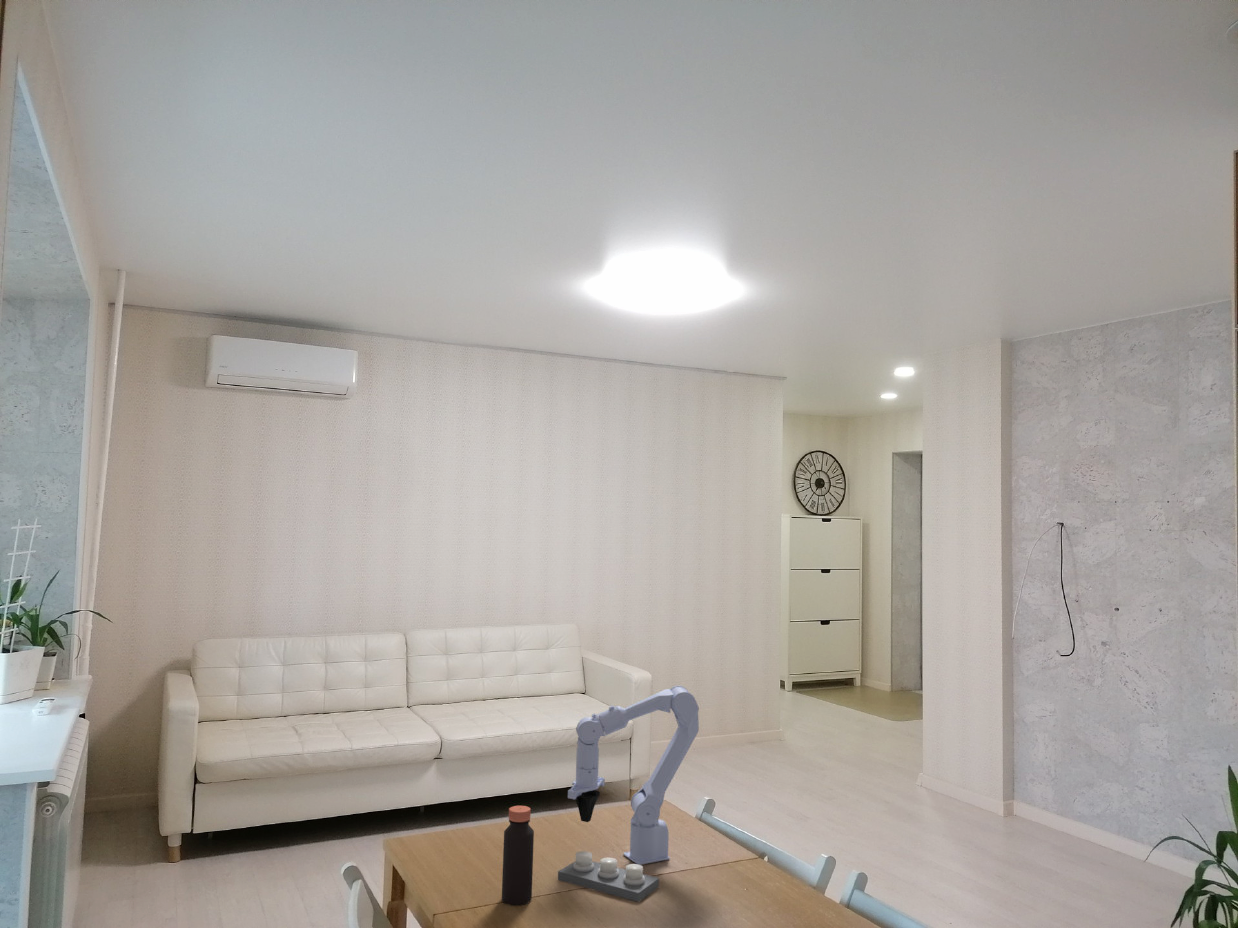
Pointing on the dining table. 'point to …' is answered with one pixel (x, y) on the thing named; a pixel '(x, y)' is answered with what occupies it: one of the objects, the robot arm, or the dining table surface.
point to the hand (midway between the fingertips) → (585, 820)
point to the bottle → (518, 858)
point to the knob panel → (609, 881)
